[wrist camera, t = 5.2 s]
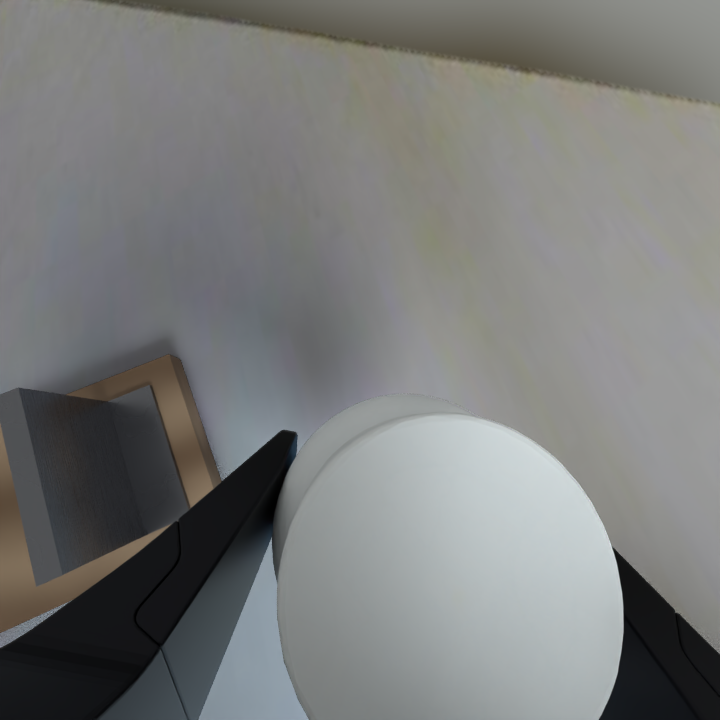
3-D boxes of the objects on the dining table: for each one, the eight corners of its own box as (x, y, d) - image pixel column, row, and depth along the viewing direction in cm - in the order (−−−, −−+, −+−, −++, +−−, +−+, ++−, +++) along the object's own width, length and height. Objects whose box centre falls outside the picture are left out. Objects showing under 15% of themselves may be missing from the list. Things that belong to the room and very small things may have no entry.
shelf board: (235, 522, 21) (226, 528, 20) (-121, 685, 19) (-161, 706, 17) (180, 359, 23) (168, 354, 22) (-146, 488, 21) (-183, 491, 19)
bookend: (192, 514, 20) (126, 546, 14) (131, 541, 19) (36, 587, 13) (152, 385, 21) (76, 365, 15) (94, 408, 21) (-6, 397, 15)
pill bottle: (335, 584, 14) (292, 1028, 4) (293, 442, 16) (164, 442, 5) (468, 531, 15) (782, 766, 4) (417, 398, 16) (554, 310, 5)
